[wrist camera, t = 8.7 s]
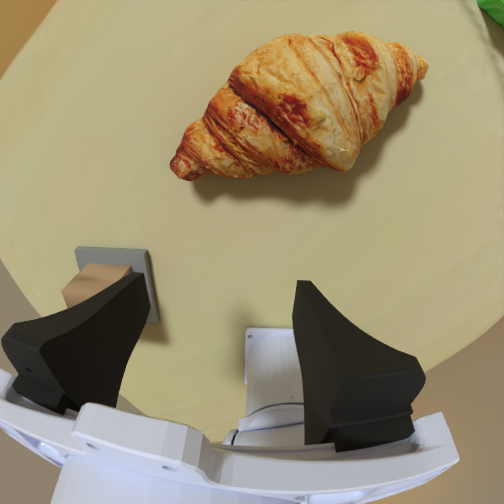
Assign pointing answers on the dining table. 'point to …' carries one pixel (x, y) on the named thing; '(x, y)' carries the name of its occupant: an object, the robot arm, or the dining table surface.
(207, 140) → the croissant
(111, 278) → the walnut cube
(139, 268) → the slate coaster
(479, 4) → the fruit basket
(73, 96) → the dining table surface
